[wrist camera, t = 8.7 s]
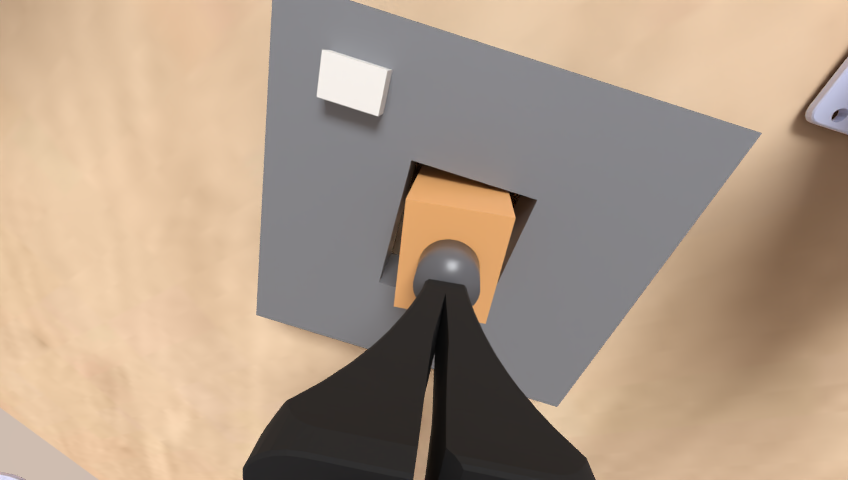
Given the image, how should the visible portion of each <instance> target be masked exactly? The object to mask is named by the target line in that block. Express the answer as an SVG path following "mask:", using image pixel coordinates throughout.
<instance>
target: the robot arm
mask: <svg viewBox="0 0 848 480" xmlns="http://www.w3.org/2000/svg"><path fill="white" fill-rule="evenodd" d="M837 110H839V113H838V115H837V116H836V117H835V118H834V119H832V118H831V117H832V115H833V113H834V112H835V111H837ZM805 118H806V120H807V121H808V122H810V123H813V124H816V125H819V126H822V127H825V128H828V129H831V130H834V131H837V132H840V133H843V134H846V135H848V57H847V58H846V60H845V61H844V62H843V63H842V65H841V66H840V67H839V69H838V70H837V71H836V72H835V74H834V75H833V76H832V77H831V79H830V80H829V81H828V83H827V84H826V85H825V86H824V88H823V89H822V90H821V91H820V93H819V94H818V95H817V97H816V98H815V99H814V100H813V102H812V103H811V104H810V106H809V107H808V109H807V110H806V113H805ZM434 354H435V358H434ZM433 358H434V386H433V414H432V427H431V436H430V444H429V452H428V460H427V467H426V475H425V480H595V477H594V475H593V473H592V470H591V468H590V465H589V463H588V461H587V458H586V457H585V456H584V455H582V454H581V453H580V452H579V451H578V450H577V449H576V448H575V447H574V446H573V445H572V444H571V443H570V442H569V441H568V440H567V439H566V438H564V437H563V436H562V435H561V434H560V433H559V432H558V431H557V430H556V429H555V428H554V427H553V426H552V425H551V424H550V423H549V422H548V421H547V420H546V419H545V417H544V416H543V415H542V414H541V413H540V412H539V411H538V410H537V409H536V408H535V407H534V405H533V404H532V403H531V402H530V400H529V399H528V398H527V397H526V396H525V394H524V393H523V392H522V391H521V390H520V388H519V387H518V386H517V385H516V383H515V382H514V380H513V379H512V378H511V376H510V375H509V373H508V372H507V371H506V369H505V368H504V366H503V365H502V363H501V362H500V360H499V358H498V357H497V355H496V354H495V352H494V350H493V348H492V347H491V345H490V343H489V341H488V339H487V338H486V336H485V334H484V332H483V330H482V327H481V325H480V323H479V321H478V319H477V317H476V314H475V312H474V309H473V307H472V304H471V301H470V298H469V295H468V292H467V288H466V287H465V285H462V284H456V283H451V282H445V281H439V280H433V279H428V280H426V281H425V284H424V286H423V288H422V289H421V291H420V293H419V294H418V296H417V297H416V299H415V300H414V301H413V303H412V304H411V305H410V307H409V308H408V309H407V310H406V312H405V313H404V314H403V315H402V316H401V318H400V319H399V320H398V321H397V322H396V323H395V324H394V325H393V326H392V327H391V329H390V330H389V331H388V332H387V333H386V334H385V335H383V336H382V337H381V338H380V339H379V340H378V341H377V342H376V343H375V344H374V345H372V346H371V347H370V348H369V349H368V350H366V351H365V352H364V353H363V354H361V355H360V356H359V357H358V358H356V359H355V360H354V361H352V362H351V363H350V364H348V365H347V366H345V367H344V368H342V369H341V370H339V371H338V372H336V373H334V374H333V375H331V376H330V377H328V378H327V379H325V380H324V381H322V382H320V383H319V384H317V385H315V386H313V387H311V388H309V389H308V390H306V391H304V392H302V393H300V394H298V395H296V396H295V397H293V398H291V399H289V400H287V401H286V402H285V403H284V404H283V405H282V407H281V408H280V409H279V411H278V412H277V413H276V414H275V416H274V417H273V419H272V420H271V421H270V423H269V424H268V425H267V427H266V428H265V430H264V431H263V433H262V434H261V436H260V438H259V440H258V442H257V443H256V445H255V447H254V449H253V451H252V453H251V454H250V456H249V458H248V460H247V462H246V464H245V465H244V467H243V480H413V476H414V469H415V462H416V456H417V449H418V441H419V433H420V425H421V418H422V410H423V403H424V395H425V391H426V387H427V383H428V378H429V374H430V370H431V366H432V362H433ZM0 480H25V479H23V478H22V477H19V476H16V475H13V474H8V473H3V472H0Z"/></svg>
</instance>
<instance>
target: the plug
mask: <svg viewBox="0 0 848 480" xmlns="http://www.w3.org/2000/svg"><path fill="white" fill-rule="evenodd" d="M515 219H516V217H515V213H514V210H513V206H512V202H511V198H510V195H509V191H507V190H504V189H501V188H498V187H495V186H491V185H488V184H485V183H482V182H479V181H476V180H472V179H469V178H466V177H463V176H460V175H457V174H453V173H450V172H447V171H444V170H441V169H438V168H434V167H431V166H428V165H425V164H423V165H422V167H421V169H420V171H419V173H418V175H417V177H416V179H415V181H414V183H413V185H412V187H411V189H410V192H409V194H408V196H407V198H406V202H405V210H404V219H403V228H402V237H401V246H400V255H399V264H398V273H397V282H396V290H395V299H394V307H399V308H404V309H408V308H409V307H410V305H411V304H412V303H413V301H414V300H415V299H416V297H417V296H418V294H419V293H420V291H421V289H422V288H423V286H424V284H425V281H426V280H428V279H433V280H439V281H445V282H451V283H456V284H462V285H465V287H466V288H467V292H468V295H469V298H470V301H471V304H472V307H473V309H474V312H475V314H476V317H477V319H478V321H479V323H484V324H486V321H487V317H488V314H489V310H490V307H491V303H492V300H493V296H494V293H495V289H496V286H497V282H498V279H499V275H500V271H501V268H502V264H503V261H504V257H505V254H506V250H507V247H508V243H509V240H510V236H511V233H512V229H513V226H514V222H515Z"/></svg>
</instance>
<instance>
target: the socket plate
mask: <svg viewBox="0 0 848 480" xmlns="http://www.w3.org/2000/svg"><path fill="white" fill-rule="evenodd" d="M761 134H762V133H760V132H756V131H753V130H750V129H747V128H744V127H741V126H738V125H735V124H732V123H729V122H725V121H722V120H719V119H716V118H713V117H710V116H707V115H704V114H701V113H698V112H694V111H691V110H688V109H685V108H682V107H679V106H676V105H673V104H670V103H667V102H663V101H660V100H657V99H654V98H651V97H648V96H645V95H642V94H639V93H636V92H632V91H629V90H626V89H623V88H620V87H617V86H614V85H611V84H608V83H605V82H601V81H598V80H595V79H592V78H589V77H586V76H583V75H580V74H577V73H574V72H570V71H567V70H564V69H561V68H558V67H555V66H552V65H549V64H546V63H543V62H539V61H536V60H533V59H530V58H527V57H524V56H521V55H518V54H515V53H512V52H509V51H505V50H502V49H499V48H496V47H493V46H490V45H487V44H484V43H481V42H478V41H474V40H471V39H468V38H465V37H462V36H459V35H456V34H453V33H450V32H447V31H443V30H440V29H437V28H434V27H431V26H428V25H425V24H422V23H419V22H416V21H412V20H409V19H406V18H403V17H400V16H397V15H394V14H391V13H388V12H385V11H381V10H378V9H375V8H372V7H369V6H366V5H363V4H360V3H357V2H354V1H350V0H272V17H271V36H270V56H269V76H268V96H267V115H266V135H265V155H264V174H263V194H262V214H261V234H260V253H259V273H258V293H257V312H256V315H258V316H262V317H265V318H268V319H271V320H275V321H278V322H281V323H284V324H288V325H291V326H294V327H298V328H301V329H304V330H307V331H311V332H314V333H317V334H320V335H324V336H327V337H330V338H333V339H337V340H340V341H343V342H347V343H350V344H353V345H356V346H360V347H363V348H366V349H369V348H370V347H371V346H372V345H374V344H375V343H376V342H377V341H378V340H379V339H380V338H381V337H382V336H383V335H385V334H386V333H387V332H388V331H389V330H390V329H391V327H392V326H393V325H394V324H395V323H396V322H397V321H398V320H399V319H400V318H401V316H402V315H403V314H404V313H405V312H406V310H407V309H404V308H399V307H394V299H395V290H396V282H397V273H398V264H399V255H396V254H393V253H392V250H393V246H394V242H395V239H396V235H397V231H398V228H399V224H400V221H401V217H402V213H403V210H404V206H405V202H406V198H407V195H408V191H409V188H410V184H411V180H412V177H413V173H414V169H415V166H416V162H419V163H422V164H425V165H428V166H431V167H434V168H438V169H441V170H444V171H447V172H450V173H453V174H457V175H460V176H463V177H466V178H469V179H472V180H476V181H479V182H482V183H485V184H488V185H491V186H495V187H498V188H501V189H504V190H507V191H510V192H514V193H517V194H520V196H519V199H518V201H517V203H516V205H515V207H514V213H515V217H516V219H515V222H514V226H513V229H512V233H511V236H510V240H509V243H508V247H507V250H506V254H505V257H504V261H503V264H502V268H501V271H500V275H499V279H498V282H497V286H496V289H495V293H494V296H493V300H492V303H491V307H490V310H489V314H488V317H487V321H486V324H484V323H480V325H481V327H482V330H483V332H484V334H485V336H486V338H487V339H488V341H489V343H490V345H491V347H492V348H493V350H494V352H495V354H496V355H497V357H498V358H499V360H500V362H501V363H502V365H503V366H504V368H505V369H506V371H507V372H508V373H509V375H510V376H511V378H512V379H513V380H514V382H515V383H516V385H517V386H518V387H519V388H520V390H521V391H522V392H523V393H524V394H525V396H526V397H527V398H530V399H533V400H536V401H539V402H543V403H546V404H549V405H552V406H556V407H557V406H558V405H559V404H560V402H561V401H562V400H563V398H564V397H565V396H566V394H567V393H568V392H569V390H570V389H571V388H572V386H573V385H574V384H575V382H576V381H577V380H578V378H579V377H580V376H581V374H582V373H583V372H584V370H585V369H586V368H587V366H588V365H589V364H590V362H591V361H592V360H593V358H594V357H595V356H596V354H597V353H598V352H599V350H600V349H601V348H602V346H603V345H604V344H605V342H606V341H607V340H608V338H609V337H610V336H611V334H612V333H613V331H614V330H615V329H616V327H617V326H618V325H619V323H620V322H621V321H622V319H623V318H624V317H625V315H626V314H627V313H628V311H629V310H630V309H631V307H632V306H633V305H634V303H635V302H636V301H637V299H638V298H639V297H640V295H641V294H642V293H643V291H644V290H645V289H646V287H647V286H648V285H649V283H650V282H651V281H652V279H653V278H654V277H655V275H656V274H657V273H658V271H659V270H660V269H661V267H662V266H663V265H664V263H665V262H666V261H667V259H668V258H669V257H670V255H671V254H672V253H673V251H674V250H675V249H676V247H677V246H678V245H679V243H680V242H681V241H682V239H683V238H684V237H685V235H686V234H687V233H688V231H689V230H690V229H691V227H692V226H693V225H694V223H695V222H696V221H697V219H698V218H699V217H700V215H701V214H702V213H703V211H704V210H705V209H706V207H707V206H708V205H709V203H710V202H711V201H712V199H713V198H714V197H715V195H716V194H717V193H718V191H719V190H720V188H721V187H722V186H723V184H724V183H725V182H726V180H727V179H728V178H729V176H730V175H731V174H732V172H733V171H734V170H735V168H736V167H737V166H738V164H739V163H740V162H741V160H742V159H743V158H744V156H745V155H746V154H747V152H748V151H749V150H750V148H751V147H752V146H753V144H754V143H755V142H756V140H757V139H758V138H759V136H760V135H761ZM434 358H435V354H434ZM434 358H433V362H432V366H431V368H432V369H434Z"/></svg>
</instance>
